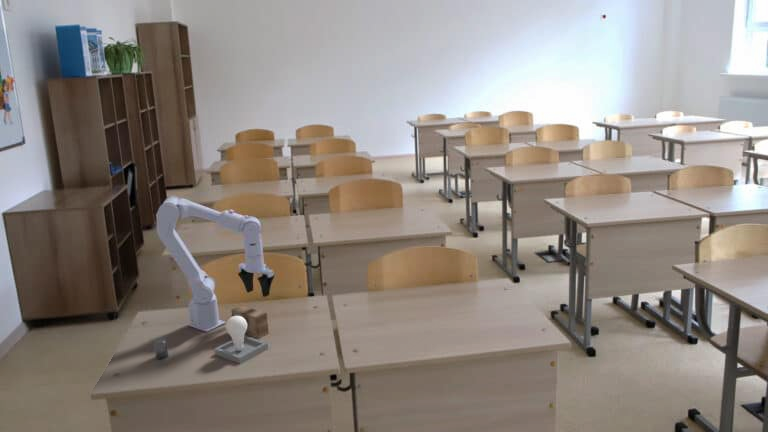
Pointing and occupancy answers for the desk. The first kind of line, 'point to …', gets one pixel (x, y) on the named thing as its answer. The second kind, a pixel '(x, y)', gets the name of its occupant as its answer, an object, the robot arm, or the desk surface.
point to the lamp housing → (253, 320)
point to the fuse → (161, 349)
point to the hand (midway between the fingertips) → (258, 293)
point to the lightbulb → (237, 331)
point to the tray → (249, 350)
